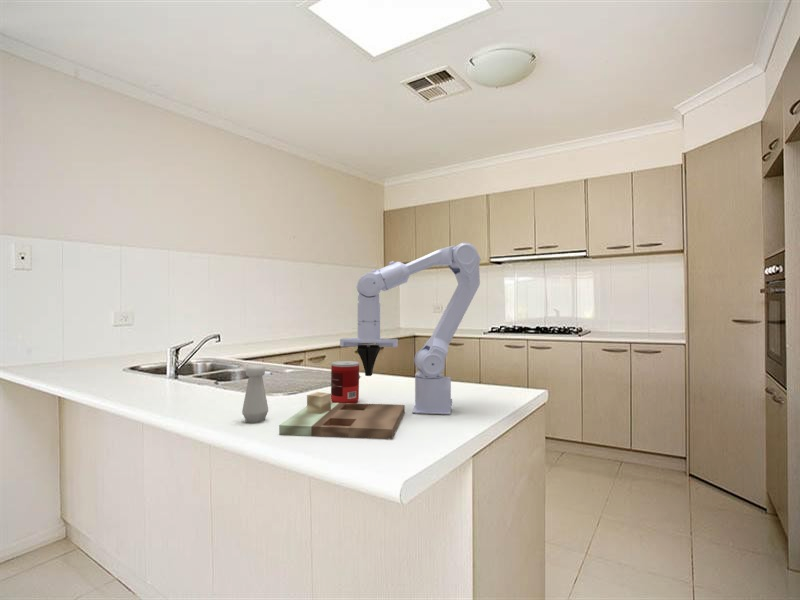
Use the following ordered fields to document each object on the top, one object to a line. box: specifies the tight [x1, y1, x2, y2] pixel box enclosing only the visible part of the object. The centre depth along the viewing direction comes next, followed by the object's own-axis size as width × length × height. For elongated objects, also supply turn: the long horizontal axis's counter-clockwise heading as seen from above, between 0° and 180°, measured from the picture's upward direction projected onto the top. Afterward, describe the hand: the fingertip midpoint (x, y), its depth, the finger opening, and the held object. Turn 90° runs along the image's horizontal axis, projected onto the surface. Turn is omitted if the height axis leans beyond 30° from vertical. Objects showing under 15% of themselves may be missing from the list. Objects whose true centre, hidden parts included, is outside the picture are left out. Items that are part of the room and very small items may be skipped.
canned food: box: [330, 360, 360, 403], centre depth 125 cm, size 8×8×11 cm
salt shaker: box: [241, 364, 269, 424], centre depth 105 cm, size 6×6×13 cm
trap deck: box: [278, 402, 406, 440], centre depth 103 cm, size 24×22×2 cm
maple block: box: [306, 391, 332, 414], centre depth 106 cm, size 4×4×4 cm
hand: (368, 375), depth 113 cm, fingers closed
